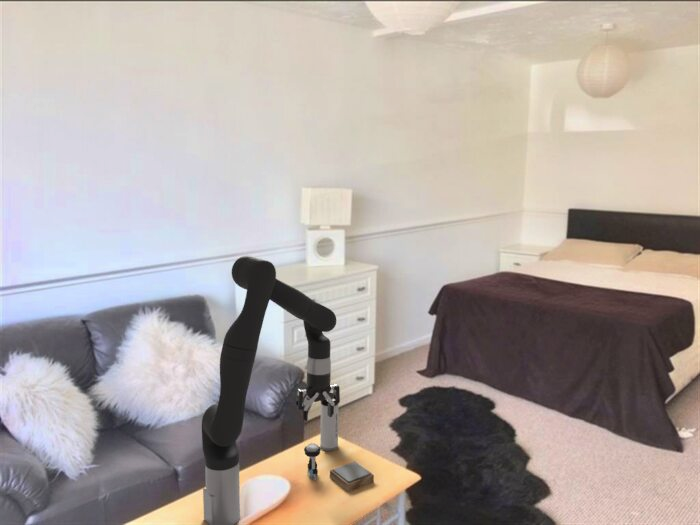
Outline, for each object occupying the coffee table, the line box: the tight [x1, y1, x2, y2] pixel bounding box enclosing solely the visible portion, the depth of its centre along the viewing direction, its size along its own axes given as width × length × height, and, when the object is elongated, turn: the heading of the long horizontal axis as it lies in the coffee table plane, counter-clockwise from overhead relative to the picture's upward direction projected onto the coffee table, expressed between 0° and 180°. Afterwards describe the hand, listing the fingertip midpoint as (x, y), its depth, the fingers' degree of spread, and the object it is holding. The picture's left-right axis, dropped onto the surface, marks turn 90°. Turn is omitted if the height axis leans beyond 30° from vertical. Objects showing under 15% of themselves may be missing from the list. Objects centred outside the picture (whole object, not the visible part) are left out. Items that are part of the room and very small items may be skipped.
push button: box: [303, 442, 322, 481], centre depth 181 cm, size 7×5×10 cm
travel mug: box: [319, 392, 340, 452], centre depth 200 cm, size 6×7×20 cm
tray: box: [329, 461, 375, 493], centre depth 180 cm, size 10×10×3 cm
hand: (317, 418), depth 180 cm, fingers open, 8 cm apart
